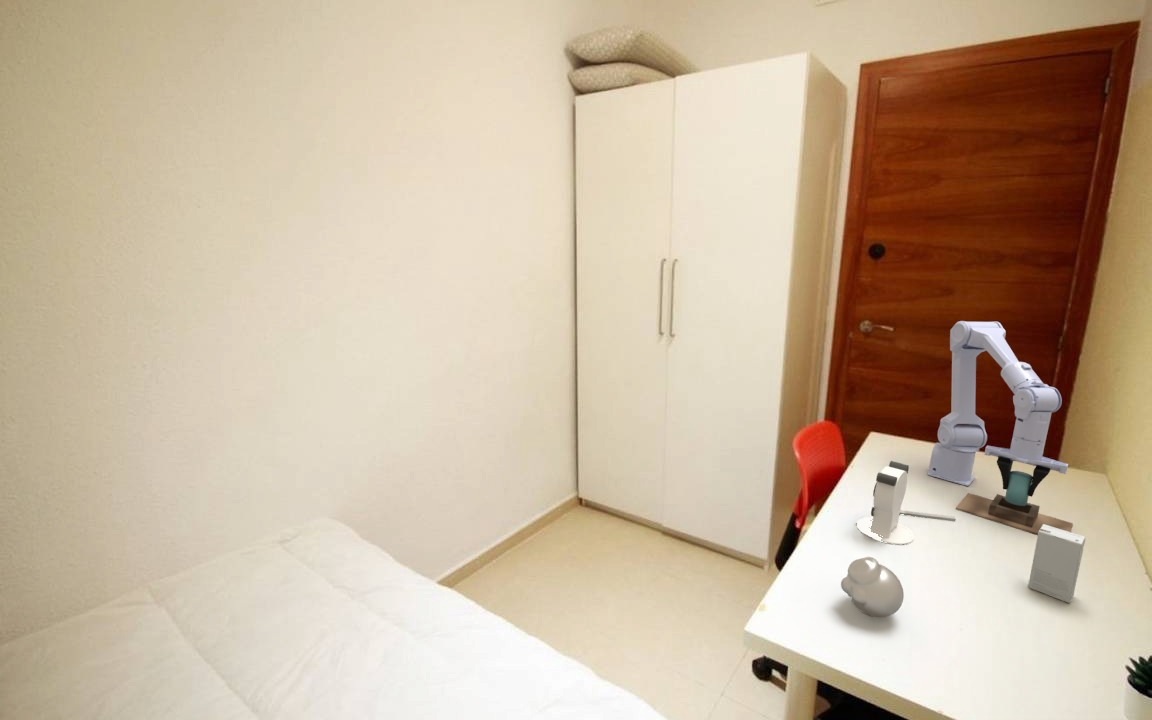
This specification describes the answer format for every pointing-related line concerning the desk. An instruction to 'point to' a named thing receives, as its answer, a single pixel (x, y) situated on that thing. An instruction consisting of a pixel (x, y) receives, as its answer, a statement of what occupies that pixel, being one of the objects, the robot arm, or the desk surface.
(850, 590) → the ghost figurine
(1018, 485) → the teal peg
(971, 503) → the peg stand
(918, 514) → the light grey rod
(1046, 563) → the skincare box
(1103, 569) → the desk surface
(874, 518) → the white tall piece
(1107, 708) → the desk surface
